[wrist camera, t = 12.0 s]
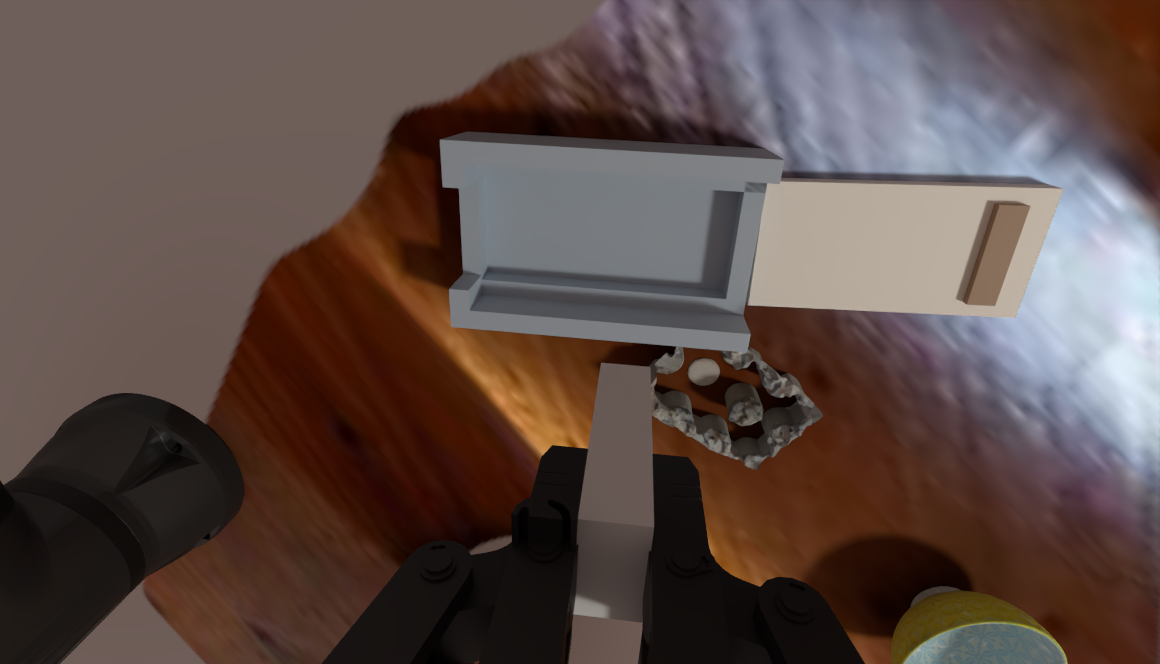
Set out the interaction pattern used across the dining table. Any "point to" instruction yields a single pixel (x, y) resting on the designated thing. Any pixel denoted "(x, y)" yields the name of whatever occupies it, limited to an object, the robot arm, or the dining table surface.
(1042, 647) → the bowl
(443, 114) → the dining table surface
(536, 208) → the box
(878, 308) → the lid
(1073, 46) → the dining table surface
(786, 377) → the egg carton
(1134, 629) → the dining table surface
